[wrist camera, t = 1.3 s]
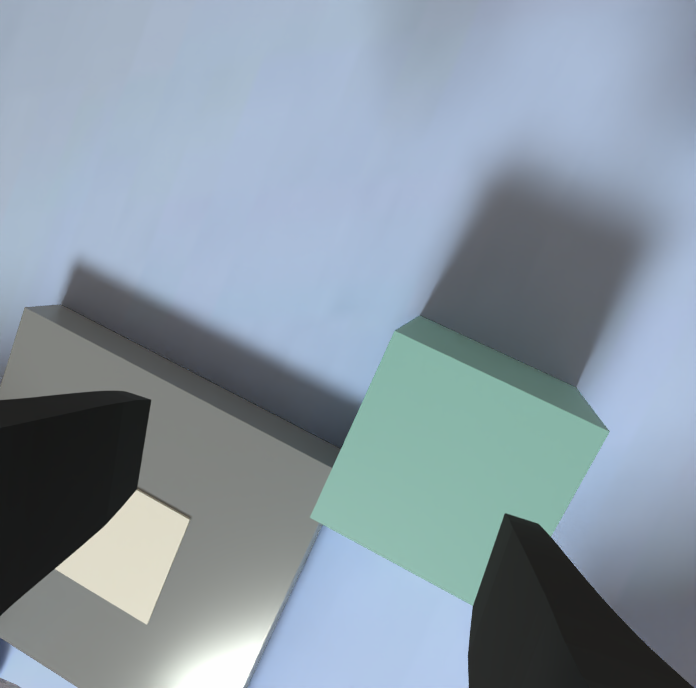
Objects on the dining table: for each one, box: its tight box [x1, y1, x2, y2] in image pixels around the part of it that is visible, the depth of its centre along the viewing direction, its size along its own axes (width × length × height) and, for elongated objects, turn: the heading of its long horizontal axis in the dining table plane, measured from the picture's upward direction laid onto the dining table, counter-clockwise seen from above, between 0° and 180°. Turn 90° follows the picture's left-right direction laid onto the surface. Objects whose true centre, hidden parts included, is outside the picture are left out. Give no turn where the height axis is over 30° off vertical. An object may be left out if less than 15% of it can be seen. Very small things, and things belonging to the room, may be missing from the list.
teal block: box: [310, 316, 609, 606], centre depth 19 cm, size 6×6×6 cm
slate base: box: [0, 305, 341, 688], centre depth 24 cm, size 14×14×2 cm
